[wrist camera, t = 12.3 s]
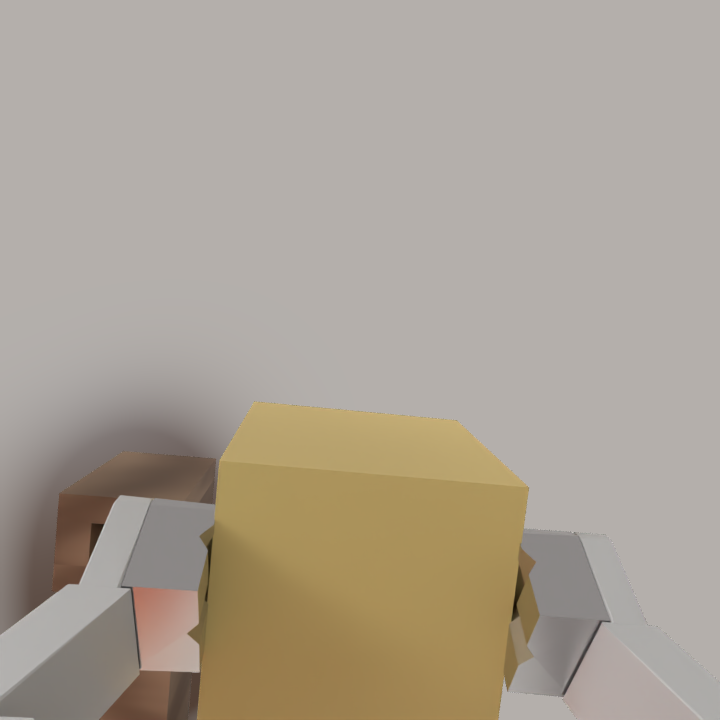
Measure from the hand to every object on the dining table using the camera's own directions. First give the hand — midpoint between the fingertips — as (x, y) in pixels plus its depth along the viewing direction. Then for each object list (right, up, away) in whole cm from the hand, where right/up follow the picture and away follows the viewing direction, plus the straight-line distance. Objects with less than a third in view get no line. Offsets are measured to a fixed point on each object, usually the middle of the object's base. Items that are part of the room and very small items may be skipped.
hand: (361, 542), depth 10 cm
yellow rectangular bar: (-1, -2, +8) cm, 8 cm away
